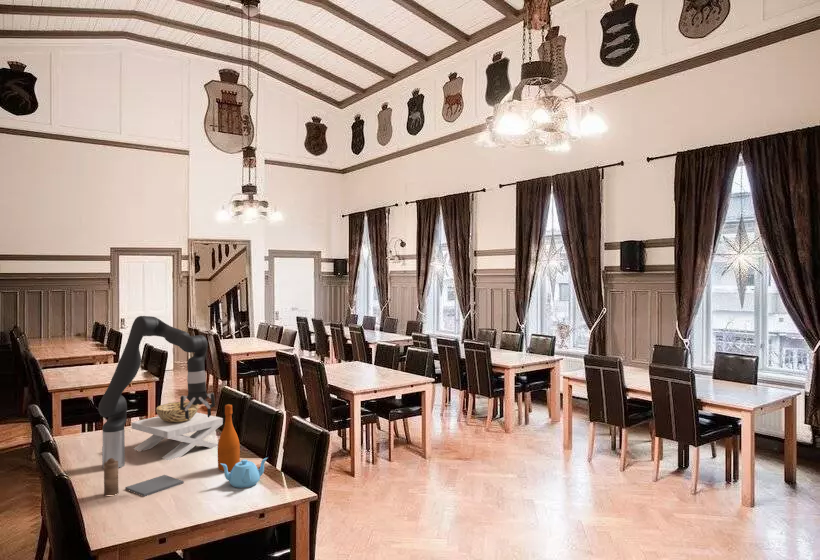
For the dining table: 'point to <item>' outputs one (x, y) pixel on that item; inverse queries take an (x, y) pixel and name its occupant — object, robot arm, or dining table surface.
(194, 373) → the robot arm
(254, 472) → the teapot
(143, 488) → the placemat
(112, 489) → the pepper mill
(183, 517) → the dining table surface
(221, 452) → the wine bottle
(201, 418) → the white x-leg bench
